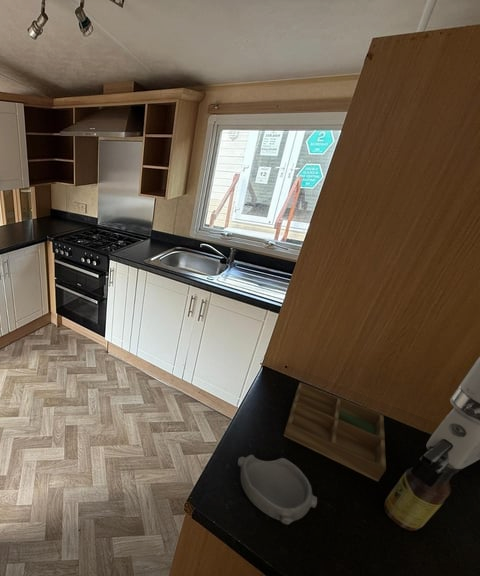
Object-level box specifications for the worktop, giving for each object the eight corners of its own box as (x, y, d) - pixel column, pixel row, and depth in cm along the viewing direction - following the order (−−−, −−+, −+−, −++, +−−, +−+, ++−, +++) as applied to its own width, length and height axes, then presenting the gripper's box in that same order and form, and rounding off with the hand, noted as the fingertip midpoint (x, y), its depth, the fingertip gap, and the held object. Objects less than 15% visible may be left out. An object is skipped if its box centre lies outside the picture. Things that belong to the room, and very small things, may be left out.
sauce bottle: (388, 495, 71) (430, 436, 62) (425, 522, 66) (476, 461, 57) (376, 511, 68) (418, 451, 59) (413, 540, 63) (465, 479, 54)
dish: (227, 469, 76) (231, 455, 74) (276, 458, 79) (281, 445, 77) (267, 536, 64) (274, 522, 61) (324, 520, 66) (333, 507, 64)
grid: (295, 393, 99) (300, 382, 97) (376, 426, 88) (383, 414, 86) (283, 435, 85) (288, 424, 83) (378, 481, 74) (386, 469, 72)
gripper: (488, 439, 47) (431, 507, 54) (546, 409, 52) (487, 474, 60) (426, 403, 53) (383, 468, 61) (484, 379, 58) (438, 442, 66)
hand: (435, 471), depth 60 cm, fingers open, 8 cm apart
